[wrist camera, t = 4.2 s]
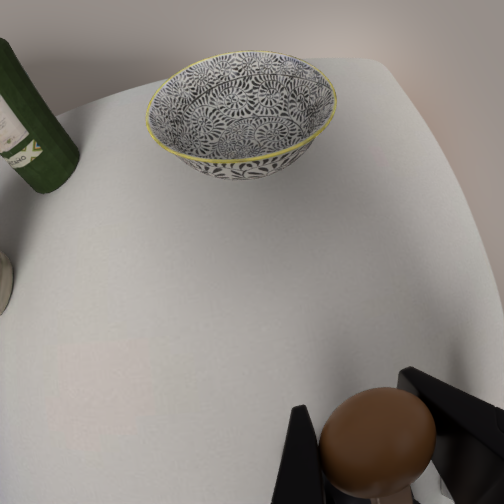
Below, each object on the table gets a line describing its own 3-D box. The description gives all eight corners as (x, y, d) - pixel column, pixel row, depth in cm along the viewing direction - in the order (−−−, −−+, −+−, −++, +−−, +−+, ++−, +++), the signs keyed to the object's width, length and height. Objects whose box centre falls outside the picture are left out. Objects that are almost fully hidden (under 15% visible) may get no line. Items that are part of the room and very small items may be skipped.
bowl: (294, 91, 33) (293, 39, 26) (356, 191, 26) (373, 132, 19) (165, 125, 32) (144, 76, 26) (183, 241, 26) (150, 190, 19)
